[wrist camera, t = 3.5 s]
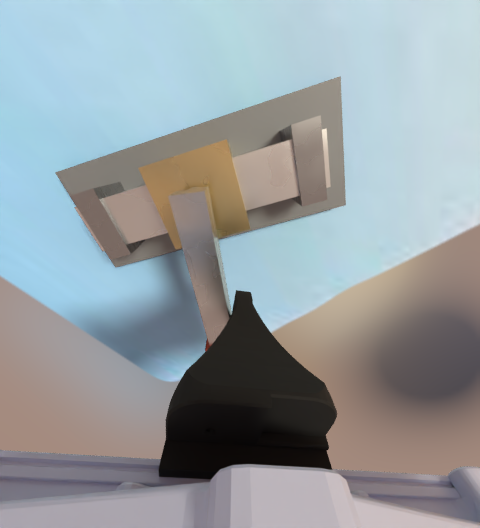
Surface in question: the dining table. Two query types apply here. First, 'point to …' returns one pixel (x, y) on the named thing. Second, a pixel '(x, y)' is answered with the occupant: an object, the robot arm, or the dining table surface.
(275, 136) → the board
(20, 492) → the robot arm
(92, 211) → the pipe and valve
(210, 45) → the dining table surface
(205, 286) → the valve lever
